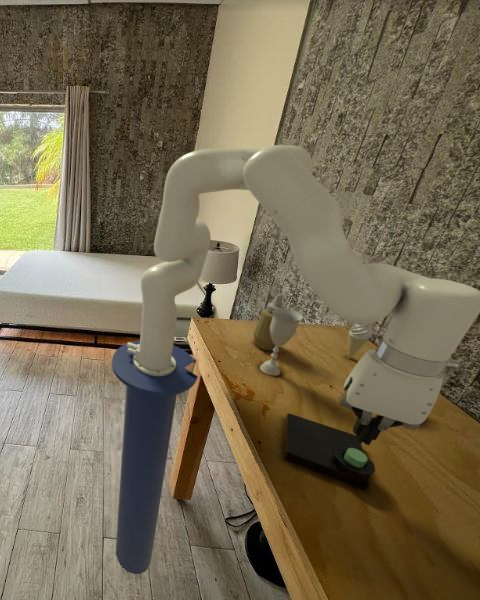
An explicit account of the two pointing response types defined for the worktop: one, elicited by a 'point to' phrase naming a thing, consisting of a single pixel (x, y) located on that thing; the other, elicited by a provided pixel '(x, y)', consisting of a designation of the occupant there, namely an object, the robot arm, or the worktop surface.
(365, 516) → the worktop surface
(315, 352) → the worktop surface
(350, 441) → the scale
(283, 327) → the chalice
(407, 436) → the worktop surface
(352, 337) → the ice cream cone
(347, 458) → the tare button
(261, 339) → the squeeze bottle
